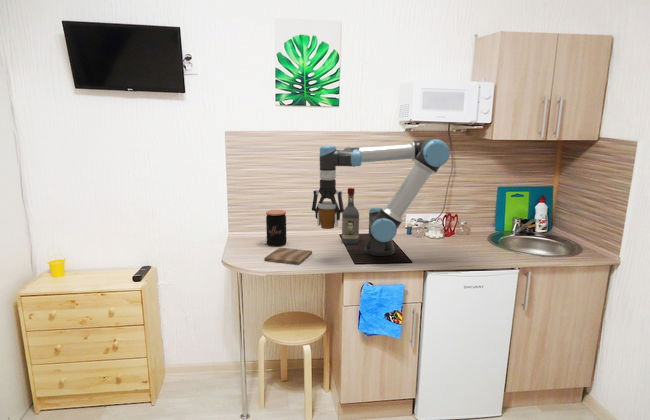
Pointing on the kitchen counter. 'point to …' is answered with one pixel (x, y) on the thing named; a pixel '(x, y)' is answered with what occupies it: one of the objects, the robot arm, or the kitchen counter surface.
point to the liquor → (350, 221)
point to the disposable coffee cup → (327, 214)
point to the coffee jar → (276, 227)
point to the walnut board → (288, 256)
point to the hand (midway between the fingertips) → (327, 225)
